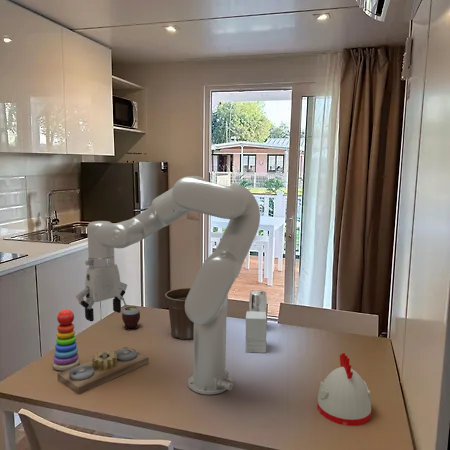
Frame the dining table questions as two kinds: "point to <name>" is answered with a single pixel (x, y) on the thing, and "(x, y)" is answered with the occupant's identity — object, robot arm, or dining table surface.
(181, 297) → the plant pot
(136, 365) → the gear board
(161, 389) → the dining table surface
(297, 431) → the dining table surface
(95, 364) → the brass gear
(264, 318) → the supplement box
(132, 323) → the mate gourd
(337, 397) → the kitchen timer
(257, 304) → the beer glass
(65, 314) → the stacking toy
